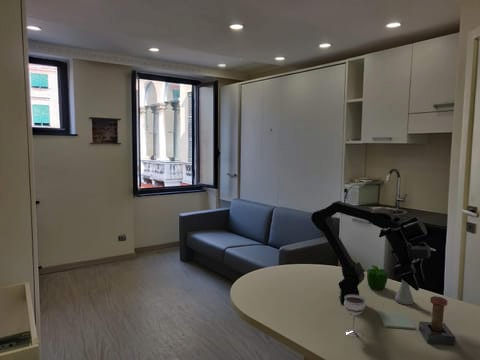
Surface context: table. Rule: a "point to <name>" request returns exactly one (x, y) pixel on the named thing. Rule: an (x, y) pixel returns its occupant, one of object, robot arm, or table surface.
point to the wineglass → (354, 310)
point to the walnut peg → (437, 313)
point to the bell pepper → (377, 278)
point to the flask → (404, 294)
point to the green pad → (396, 320)
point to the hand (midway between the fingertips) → (420, 285)
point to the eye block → (436, 334)
